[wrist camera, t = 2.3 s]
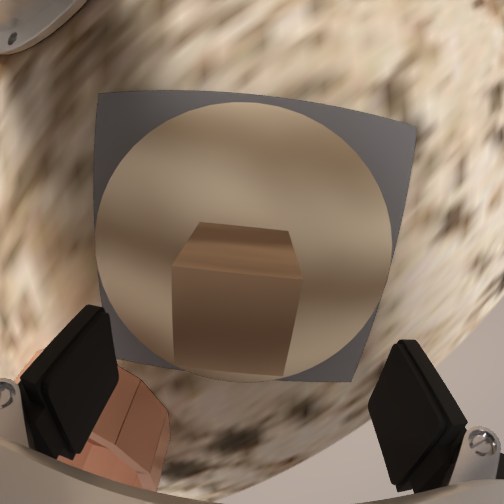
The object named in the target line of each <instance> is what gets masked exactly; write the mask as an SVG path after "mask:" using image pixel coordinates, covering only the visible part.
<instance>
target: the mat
mask: <svg viewBox="0 0 504 504" xmlns="http://www.w3.org/2000/svg"><path fill="white" fill-rule="evenodd" d="M231 102H249V103H261V104H267V105H273V106H278V107H282V108H285V109H288V110H291V111H294V112H297V113H300V114H303V115H305V116H307V117H309V118H311V119H313V120H314V121H316V122H318V123H320V124H322V125H324V126H325V127H327V128H328V129H329V130H331V131H332V132H334V133H335V134H336V135H338V136H339V137H341V138H342V139H343V140H344V141H345V142H346V143H347V144H348V145H349V146H350V147H351V148H352V149H353V150H354V151H355V152H356V153H357V154H358V155H359V157H360V158H361V159H362V161H363V162H364V163H365V165H366V166H367V167H368V168H369V170H370V172H371V173H372V175H373V177H374V179H375V181H376V182H377V184H378V186H379V188H380V190H381V193H382V196H383V198H384V201H385V204H386V206H387V211H388V215H389V220H390V225H391V236H392V253H391V262H392V258H393V254H394V250H395V246H396V242H397V238H398V234H399V229H400V225H401V221H402V216H403V211H404V206H405V201H406V196H407V191H408V186H409V180H410V174H411V168H412V162H413V155H414V148H415V141H416V133H417V127H416V126H413V125H409V124H406V123H403V122H399V121H395V120H392V119H388V118H384V117H380V116H376V115H372V114H368V113H364V112H359V111H355V110H350V109H345V108H341V107H336V106H330V105H325V104H319V103H314V102H308V101H301V100H295V99H288V98H280V97H272V96H263V95H254V94H243V93H230V92H213V91H184V90H157V91H128V92H112V93H99V94H98V103H97V114H96V127H95V144H94V225H95V229H96V221H97V214H98V210H99V207H100V203H101V199H102V196H103V194H104V191H105V189H106V187H107V184H108V182H109V180H110V178H111V176H112V175H113V173H114V171H115V170H116V168H117V167H118V165H119V163H120V162H121V161H122V159H123V158H124V157H125V156H126V155H127V153H128V152H129V151H130V150H131V149H132V148H133V146H134V145H136V144H137V143H138V142H139V141H140V140H141V139H142V138H143V137H145V136H146V135H147V134H148V133H149V132H151V131H152V130H154V129H155V128H157V127H158V126H160V125H161V124H163V123H165V122H166V121H168V120H170V119H172V118H174V117H176V116H179V115H181V114H183V113H185V112H188V111H191V110H194V109H198V108H201V107H205V106H209V105H214V104H222V103H231ZM390 265H391V264H390ZM97 267H98V266H97ZM98 277H99V286H100V294H101V301H102V307H103V308H104V309H105V312H106V313H108V314H109V316H110V322H111V329H112V336H113V343H114V349H115V355H116V358H117V359H122V360H127V361H132V362H137V363H142V364H147V365H153V366H158V367H164V368H170V369H176V370H183V369H181V368H179V367H177V366H175V365H173V364H171V363H169V362H167V361H166V360H164V359H163V358H161V357H160V356H158V355H157V354H155V353H154V352H152V351H151V350H150V349H149V348H147V347H146V346H145V345H144V344H143V343H141V342H140V341H139V340H138V339H137V338H136V337H135V336H134V335H133V334H132V333H131V332H130V330H129V329H128V328H127V327H126V326H125V324H124V323H123V322H122V320H121V319H120V318H119V316H118V315H117V313H116V311H115V310H114V308H113V306H112V305H111V303H110V301H109V299H108V296H107V294H106V292H105V289H104V287H103V284H102V281H101V278H100V274H99V271H98ZM381 297H382V296H381ZM380 300H381V298H380ZM380 300H379V302H378V304H377V306H376V308H375V310H374V312H373V314H372V315H371V316H370V318H369V319H368V321H367V322H366V324H365V325H364V327H363V328H362V329H361V330H360V331H359V332H358V333H357V335H356V336H355V337H354V338H353V339H352V340H351V341H350V342H349V343H348V344H346V345H345V346H344V347H343V348H342V349H341V350H340V351H338V352H337V353H335V354H334V355H332V356H331V357H330V358H328V359H327V360H325V361H323V362H321V363H320V364H318V365H316V366H314V367H312V368H310V369H307V370H305V371H302V372H300V373H297V374H295V375H291V376H288V377H284V378H280V379H275V380H281V381H304V382H351V381H352V378H353V376H354V373H355V371H356V368H357V366H358V363H359V360H360V358H361V355H362V353H363V350H364V347H365V344H366V342H367V339H368V336H369V333H370V330H371V327H372V324H373V321H374V319H375V315H376V312H377V309H378V306H379V303H380ZM183 371H186V370H183Z"/></svg>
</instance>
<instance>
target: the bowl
mask: <svg viewBox="0 0 504 504" xmlns="http://www.w3.org/2000/svg"><path fill="white" fill-rule="evenodd" d="M42 351H43V350H41V351H38V352H37V353H36V354H35V355H34V356H33V357H32V359H31V360H30V361H29V362H28V364H27V365H26V366H25V367H24V369H23V370H22V371H21V372H20V374H19V375H18V376H17V377H16V379H15V380H14V382H15V383H16V384H18V383H19V382H20V381H21V379H20V376H21V375H22V374H23V373H24V372H25V371H26V369H27V368H28V367H29V366H30V365H31V364H32V363H33V361H34V360H35V359H36V358H37V357H38V356H39V355H40V354H41V353H42ZM117 366H118V365H117ZM118 372H119V381H118V384H117V386H116V387H115V389H114V391H113V393H112V395H111V397H110V398H109V400H108V402H107V404H106V406H105V408H104V410H103V412H102V413H101V415H100V417H99V419H98V421H97V423H96V425H95V427H94V429H93V431H92V433H91V434H90V436H89V438H88V440H87V442H86V444H85V446H84V448H83V450H82V452H81V453H80V454H77V453H76V455H75V457H74V459H73V461H72V460H70V459H68V458H65V457H63V456H60V455H59V456H58V458H57V460H58V461H61V462H63V463H66V464H68V465H71V466H73V467H76V468H79V469H81V470H84V471H87V472H90V473H93V474H95V475H98V476H101V477H104V478H107V479H110V480H113V481H116V482H120V483H123V484H127V485H130V486H134V487H137V488H141V489H145V490H149V491H153V492H157V489H158V485H159V481H160V476H161V472H162V468H163V464H164V460H165V455H166V451H167V447H168V443H169V439H170V435H171V433H170V426H169V419H168V411H167V409H166V408H165V407H164V406H163V405H162V404H161V403H160V401H159V400H158V399H157V398H156V397H155V396H154V395H153V393H152V392H151V391H150V390H149V389H148V388H147V386H146V385H145V384H144V383H143V382H142V380H141V379H139V378H137V377H136V376H134V375H132V374H131V373H129V372H127V371H126V370H124V369H122V368H121V367H119V366H118Z"/></svg>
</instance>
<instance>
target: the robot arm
mask: <svg viewBox="0 0 504 504" xmlns="http://www.w3.org/2000/svg"><path fill="white" fill-rule="evenodd" d="M86 1H87V0H0V55H1V54H13V53H16V52H20V51H23V50H25V49H27V48H29V47H31V46H33V45H35V44H37V43H38V42H40V41H41V40H43V39H44V38H46V37H47V36H49V35H50V34H52V33H53V32H54V31H55V30H56V29H58V28H59V27H60V26H61V25H63V24H64V23H65V22H66V21H67V20H68V19H69V18H70V17H71V16H73V15H74V14H75V13H76V12H77V11H78V10H79V9H80V8H81V7H82V6H83V5H84V4H85V3H86ZM20 379H21V381H20V382H19V383H18V384H16V383H15V382H14V381H12V380H11V379H7V378H0V504H221V503H213V502H206V501H199V500H193V499H187V498H182V497H176V496H171V495H167V494H162V493H157V492H153V491H149V490H145V489H141V488H137V487H134V486H130V485H127V484H123V483H120V482H116V481H113V480H110V479H107V478H104V477H101V476H98V475H95V474H93V473H90V472H87V471H84V470H81V469H79V468H76V467H73V466H71V465H68V464H66V463H63V462H61V461H58V460H57V458H58V456H59V455H60V456H63V457H65V458H68V459H70V460H72V461H73V459H74V457H75V455H76V453H77V454H80V453H81V452H82V450H83V448H84V446H85V444H86V442H87V440H88V438H89V436H90V434H91V433H92V431H93V429H94V427H95V425H96V423H97V421H98V419H99V417H100V415H101V413H102V412H103V410H104V408H105V406H106V404H107V402H108V400H109V398H110V397H111V395H112V393H113V391H114V389H115V387H116V386H117V384H118V381H119V372H118V366H117V361H116V355H115V349H114V343H113V336H112V329H111V322H110V316H109V314H108V313H106V312H105V309H104V308H103V307H98V306H93V305H86V306H85V307H84V308H83V309H82V310H81V311H80V312H79V313H78V314H77V315H76V316H75V317H74V318H73V319H72V320H71V321H70V322H69V324H68V325H67V326H66V327H65V328H64V329H63V330H62V331H61V332H60V333H59V334H58V335H57V336H56V337H55V338H54V339H53V340H52V342H51V343H50V344H49V345H48V346H47V347H46V348H45V349H44V350H43V351H42V353H41V354H40V355H39V356H38V357H37V358H36V359H35V360H34V361H33V363H32V364H31V365H30V366H29V367H28V368H27V369H26V371H25V372H24V373H23V374H22V375H21V376H20ZM368 410H369V413H370V416H371V419H372V422H373V425H374V428H375V431H376V434H377V438H378V441H379V444H380V447H381V450H382V454H383V457H384V460H385V464H386V467H387V470H388V474H389V477H390V481H391V483H392V484H393V485H396V489H397V492H402V491H406V490H411V489H412V488H413V491H414V494H411V495H406V496H401V497H396V498H390V499H384V500H378V501H372V502H365V503H357V504H504V454H502V453H500V450H501V446H500V445H501V444H500V441H499V438H498V437H497V436H496V434H495V433H494V432H493V431H491V430H490V429H488V428H486V427H482V426H475V427H471V428H470V429H469V430H466V428H465V426H466V424H467V423H468V422H467V420H466V418H465V416H464V415H463V413H462V411H461V410H460V408H459V406H458V405H457V403H456V401H455V400H454V398H453V396H452V395H451V393H450V391H449V390H448V388H447V387H446V385H445V383H444V382H443V380H442V379H441V377H440V376H439V374H438V372H437V371H436V369H435V368H434V366H433V365H432V363H431V362H430V360H429V358H428V357H427V355H426V354H425V352H424V351H423V349H422V348H421V346H420V345H419V344H418V342H417V341H416V340H399V341H398V342H397V344H394V345H393V346H392V349H391V351H390V354H389V356H388V359H387V361H386V363H385V366H384V368H383V371H382V373H381V375H380V378H379V380H378V382H377V384H376V387H375V389H374V391H373V393H372V395H371V397H370V400H369V403H368Z"/></svg>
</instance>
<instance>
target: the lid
mask: <svg viewBox="0 0 504 504" xmlns="http://www.w3.org/2000/svg"><path fill="white" fill-rule="evenodd" d="M95 252H96V259H97V266H98V271H99V274H100V278H101V281H102V284H103V287H104V289H105V292H106V294H107V296H108V299H109V301H110V303H111V305H112V306H113V308H114V310H115V311H116V313H117V315H118V316H119V318H120V319H121V320H122V322H123V323H124V324H125V326H126V327H127V328H128V329H129V330H130V332H131V333H132V334H133V335H134V336H135V337H136V338H137V339H138V340H139V341H140V342H141V343H143V344H144V345H145V346H146V347H147V348H149V349H150V350H151V351H152V352H154V353H155V354H157V355H158V356H160V357H161V358H163V359H164V360H166V361H167V362H169V363H171V364H173V365H175V366H177V367H179V368H181V369H183V370H186V371H189V372H191V373H194V374H196V375H200V376H204V377H207V378H211V379H216V380H223V381H229V382H262V381H269V380H275V379H280V378H284V377H288V376H291V375H295V374H297V373H300V372H302V371H305V370H307V369H310V368H312V367H314V366H316V365H318V364H320V363H321V362H323V361H325V360H327V359H328V358H330V357H331V356H332V355H334V354H335V353H337V352H338V351H340V350H341V349H342V348H343V347H344V346H345V345H346V344H348V343H349V342H350V341H351V340H352V339H353V338H354V337H355V336H356V335H357V333H358V332H359V331H360V330H361V329H362V328H363V327H364V325H365V324H366V322H367V321H368V319H369V318H370V316H371V315H372V314H373V312H374V310H375V308H376V306H377V304H378V302H379V300H380V298H381V296H382V293H383V290H384V288H385V285H386V282H387V278H388V274H389V269H390V264H391V253H392V236H391V225H390V220H389V215H388V211H387V206H386V204H385V201H384V198H383V196H382V193H381V190H380V188H379V186H378V184H377V182H376V181H375V179H374V177H373V175H372V173H371V172H370V170H369V168H368V167H367V166H366V165H365V163H364V162H363V161H362V159H361V158H360V157H359V155H358V154H357V153H356V152H355V151H354V150H353V149H352V148H351V147H350V146H349V145H348V144H347V143H346V142H345V141H344V140H343V139H342V138H341V137H339V136H338V135H336V134H335V133H334V132H332V131H331V130H329V129H328V128H327V127H325V126H324V125H322V124H320V123H318V122H316V121H314V120H313V119H311V118H309V117H307V116H305V115H303V114H300V113H297V112H294V111H291V110H288V109H285V108H282V107H278V106H273V105H267V104H261V103H249V102H231V103H222V104H214V105H209V106H205V107H201V108H198V109H194V110H191V111H188V112H185V113H183V114H181V115H179V116H176V117H174V118H172V119H170V120H168V121H166V122H165V123H163V124H161V125H160V126H158V127H157V128H155V129H154V130H152V131H151V132H149V133H148V134H147V135H146V136H145V137H143V138H142V139H141V140H140V141H139V142H138V143H137V144H136V145H134V146H133V148H132V149H131V150H130V151H129V152H128V153H127V155H126V156H125V157H124V158H123V159H122V161H121V162H120V163H119V165H118V167H117V168H116V170H115V171H114V173H113V175H112V176H111V178H110V180H109V182H108V184H107V187H106V189H105V191H104V194H103V196H102V199H101V203H100V207H99V210H98V214H97V221H96V229H95Z"/></svg>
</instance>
